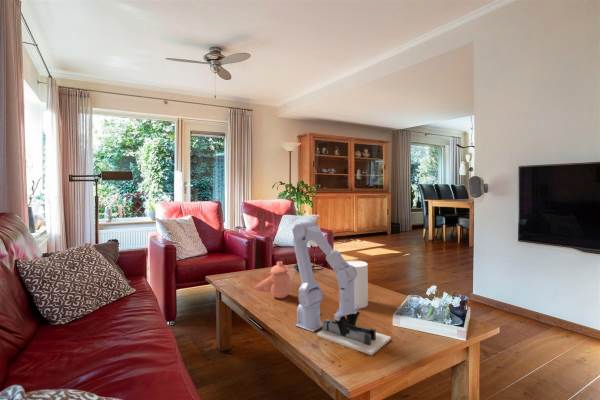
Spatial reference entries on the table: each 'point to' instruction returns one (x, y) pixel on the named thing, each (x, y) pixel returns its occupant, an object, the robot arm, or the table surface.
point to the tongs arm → (361, 329)
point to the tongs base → (347, 332)
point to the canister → (360, 283)
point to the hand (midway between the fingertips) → (347, 332)
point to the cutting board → (367, 349)
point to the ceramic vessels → (276, 281)
